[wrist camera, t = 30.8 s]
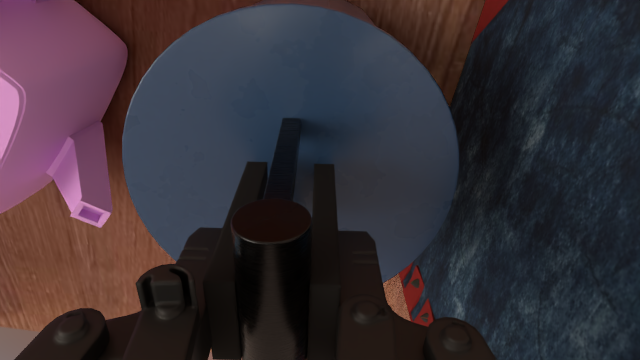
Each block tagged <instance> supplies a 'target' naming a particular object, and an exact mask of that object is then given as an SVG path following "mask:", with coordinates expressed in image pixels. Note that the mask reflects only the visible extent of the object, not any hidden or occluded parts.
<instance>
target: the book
mask: <svg viewBox="0 0 640 360" xmlns="http://www.w3.org/2000/svg"><path fill="white" fill-rule="evenodd" d="M450 110H451V114H452V117H453V120H454V123H455V126H456V131H457V137H458V144H459V174H458V181H457V187H456V191H455V195H454V198H453V201H452V205H451V208H450V210H449V212H448V214H447V216H446V218H445V221H444V223H443V225H442V226H441V228H440V229H439V231H438V233H437V234H436V236H435V237H434V239H433V240H432V241H431V243H430V244H429V245H428V246H427V247H426V249H425V250H424V251H423V252H422V253H421V254H420V255H419V256H418V257H417V258H416V259H415V260H414V261H413V262H412V263H411V264H410V265H409V266H407V267H406V268H405V269H403V270H402V271H401V272H399V276H400V279H401V283H402V287H403V293H404V297H405V301H406V304H407V308H408V312H409V316H410V319H411V322H414V323H417V324H420V325H424V326H427V327H428V326H429V324H430V323H432V322H433V321H434V320H435V319H438V318H442V317H453V318H457V319H460V320H463V321H466V322H467V323H469V324H470V325H472V326H473V327H475V328H476V329H477V330H478V332H479V333H480V334H481V335H482V336H483V338H484V340H485V341H486V343H487V345H488V346H489V348H490V349H491V351H492V353H493V354H494V356H495V358H496V359H497V360H640V0H486V1H485V4H484V7H483V10H482V13H481V16H480V19H479V22H478V25H477V27H476V30H475V33H474V36H473V39H472V42H471V47H470V50H469V53H468V56H467V58H466V61H465V64H464V67H463V70H462V73H461V76H460V79H459V82H458V85H457V88H456V91H455V94H454V97H453V99H452V102H451V105H450Z"/></svg>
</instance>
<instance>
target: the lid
mask: <svg viewBox="0 0 640 360" xmlns="http://www.w3.org/2000/svg"><path fill="white" fill-rule="evenodd" d="M122 161H123V167H124V174H125V180H126V183H127V187H128V190H129V193H130V197H131V199H132V201H133V204H134V206H135V208H136V210H137V213H138V215H139V216H140V218H141V220H142V221H143V223H144V225H145V226H146V228H147V229H148V231H149V232H150V234H151V235H152V236H153V237H154V239H155V240H156V241H157V242H158V244H159V245H160V246H161V247H162V248H163V249H164V250H165V251H166V252H167V253H168V254H169V255H170V256H171V257H172V258H173V259H174V260H175V261H177V260H178V259H179V256H180V254H181V252H182V250H183V248H184V245H185V243H186V241H187V239H188V237H189V236H190V235H191V234H193V233H194V232H195V231H196V230H197V229H198V228H200V227H203V228H223V225H224V223H225V220H226V217H227V215H228V212H229V209H230V207H231V204H232V201H233V199H234V196H235V193H236V190H237V188H238V185H239V182H240V180H241V177H242V174H243V172H244V169H245V166H246V164H247V161H249V162H267V168H268V180H267V184H266V188H265V192H264V197H263V199H261V200H256V201H253V202H250V203H248V204H246V205H244V206H242V207H240V208H239V209H238V210H237V211H236V212H235V213H234V215H233V217H232V219H231V233H232V245H233V257H234V268H235V280H236V292H237V303H238V315H239V327H240V338H241V350H242V360H307V353H308V318H309V283H310V277H311V246H312V208H313V184H314V164H334V169H335V186H336V203H337V221H338V231H367V232H368V234H369V235H370V236H371V237H372V238H373V240H374V241H375V244H376V249H377V255H378V260H379V265H380V271H381V276H382V281H383V283H384V282H385V281H387V280H389V279H391V278H392V277H394V276H395V275H397V274H398V273H399V272H401V271H402V270H403V269H405V268H406V267H407V266H409V265H410V264H411V263H412V262H413V261H414V260H415V259H416V258H417V257H418V256H419V255H420V254H421V253H422V252H423V251H424V250H425V249H426V247H427V246H428V245H429V244H430V243H431V241H432V240H433V239H434V237H435V236H436V234H437V233H438V231H439V229H440V228H441V226H442V225H443V223H444V221H445V218H446V216H447V214H448V212H449V210H450V208H451V205H452V201H453V198H454V195H455V191H456V187H457V181H458V174H459V144H458V137H457V131H456V126H455V123H454V120H453V117H452V114H451V110H450V107H449V105H448V103H447V101H446V99H445V97H444V95H443V93H442V91H441V89H440V87H439V86H438V84H437V83H436V81H435V80H434V78H433V77H432V76H431V74H430V73H429V71H428V70H427V68H426V67H425V66H424V65H423V64H422V63H421V62H420V61H419V60H418V59H417V58H416V57H415V56H414V54H413V53H412V52H411V51H410V50H409V49H408V48H406V47H405V46H404V45H403V44H401V43H400V42H399V41H398V40H397V39H395V38H394V37H393V36H392V35H390V34H389V33H387V32H386V31H384V30H382V29H381V28H379V27H377V26H375V25H374V24H372V23H370V22H369V21H367V20H364V19H362V18H359V17H357V16H354V15H352V14H350V13H347V12H345V11H341V10H337V9H334V8H330V7H326V6H322V5H317V4H307V3H298V2H276V3H263V4H257V5H252V6H246V7H241V8H238V9H235V10H232V11H229V12H226V13H223V14H220V15H217V16H215V17H213V18H211V19H209V20H208V21H206V22H204V23H202V24H200V25H198V26H196V27H194V28H192V29H191V30H189V31H188V32H187V33H185V34H184V35H182V36H181V37H180V38H178V39H177V40H175V41H174V42H173V43H172V44H171V45H170V46H169V47H168V48H167V49H165V50H164V51H163V52H162V53H161V54H160V55H159V56H158V57H157V58H156V59H155V61H154V62H153V64H152V65H151V66H150V68H149V69H148V70H147V72H146V73H145V74H144V76H143V77H142V79H141V81H140V83H139V85H138V87H137V89H136V91H135V93H134V95H133V97H132V99H131V102H130V105H129V108H128V112H127V115H126V118H125V124H124V131H123V137H122Z"/></svg>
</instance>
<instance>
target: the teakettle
mask: <svg viewBox="0 0 640 360" xmlns="http://www.w3.org/2000/svg"><path fill="white" fill-rule="evenodd" d="M127 57H128V50H127V47H126V44H125V43H124V42H123V41H122V40H121V39H120V38H119V37H118V36H117V35H116V34H115V33H114V32H112V31H111V30H110V29H109V28H108V27H107V26H106V25H104V24H103V23H102V22H101V21H99V20H98V19H97V18H96V17H94V16H93V15H92V14H91V13H89V12H88V11H87V10H86V9H85V8H83V7H82V6H81V5H80V4H78V3H77V2H76V1H74V0H0V214H1V213H3V212H5V211H7V210H9V209H10V208H12V207H14V206H16V205H17V204H19V203H20V202H22V201H24V200H25V199H27V198H28V197H30V196H31V195H33V194H35V193H36V192H37V191H39V190H40V189H42V188H43V187H45V186H46V185H47V184H48V183H50V182H51V181H52V180H53V179H54V181H55V183H56V185H57V187H58V188H59V190H60V192H61V194H62V196H63V197H64V199H65V201H66V203H67V205H68V207H69V208H70V210H71V212H72V213H71V215H70V216H71V217H74V218H76V219H79V220H81V221H84V222H87V223H89V224H92V225H94V226H97V227H100V228H101V227H102V226H103V224H104V223H105V221H106V220H107V219H108V217H109V216H110V214H111V213H112V201H111V192H110V183H109V175H108V166H107V157H106V148H105V140H104V131H103V123H101V120H102V118H103V116H104V114H105V112H106V110H107V108H108V106H109V104H110V102H111V100H112V97H113V95H114V93H115V91H116V89H117V86H118V84H119V82H120V80H121V78H122V75H123V72H124V69H125V67H126V62H127Z"/></svg>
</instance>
